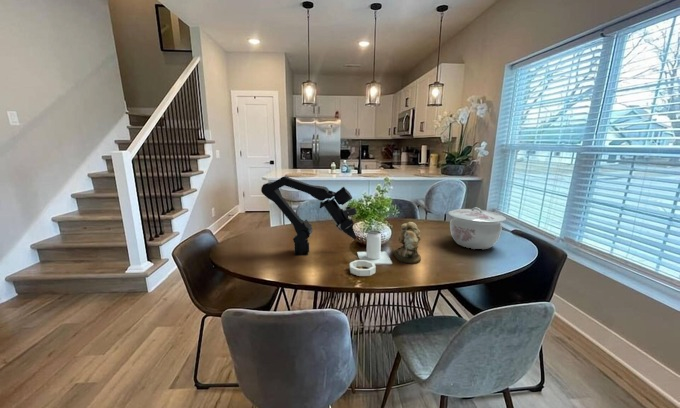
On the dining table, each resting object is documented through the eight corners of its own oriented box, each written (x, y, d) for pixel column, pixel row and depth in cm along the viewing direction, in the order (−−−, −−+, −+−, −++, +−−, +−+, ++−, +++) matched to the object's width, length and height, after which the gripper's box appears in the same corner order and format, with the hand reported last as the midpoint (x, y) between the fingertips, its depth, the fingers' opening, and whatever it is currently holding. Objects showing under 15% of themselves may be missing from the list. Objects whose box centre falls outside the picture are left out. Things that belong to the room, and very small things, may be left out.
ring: (351, 276, 115) (351, 270, 114) (349, 265, 125) (349, 260, 125) (376, 275, 115) (377, 270, 115) (372, 265, 126) (372, 259, 125)
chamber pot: (501, 259, 134) (507, 216, 130) (440, 248, 148) (444, 209, 144) (502, 242, 158) (507, 205, 154) (450, 234, 171) (453, 200, 167)
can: (380, 260, 130) (381, 234, 127) (366, 259, 131) (366, 234, 128) (380, 254, 136) (381, 230, 134) (366, 254, 137) (367, 229, 134)
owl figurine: (389, 250, 144) (391, 217, 141) (411, 250, 146) (414, 217, 142) (400, 264, 127) (402, 227, 123) (426, 264, 128) (429, 227, 125)
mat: (360, 264, 126) (360, 263, 126) (357, 253, 140) (357, 251, 140) (392, 264, 127) (392, 263, 127) (385, 252, 141) (385, 251, 140)
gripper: (352, 200, 125) (372, 229, 127) (344, 200, 144) (362, 225, 145) (331, 215, 124) (352, 244, 125) (326, 213, 142) (344, 238, 144)
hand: (353, 237), depth 135 cm, fingers open, 9 cm apart
